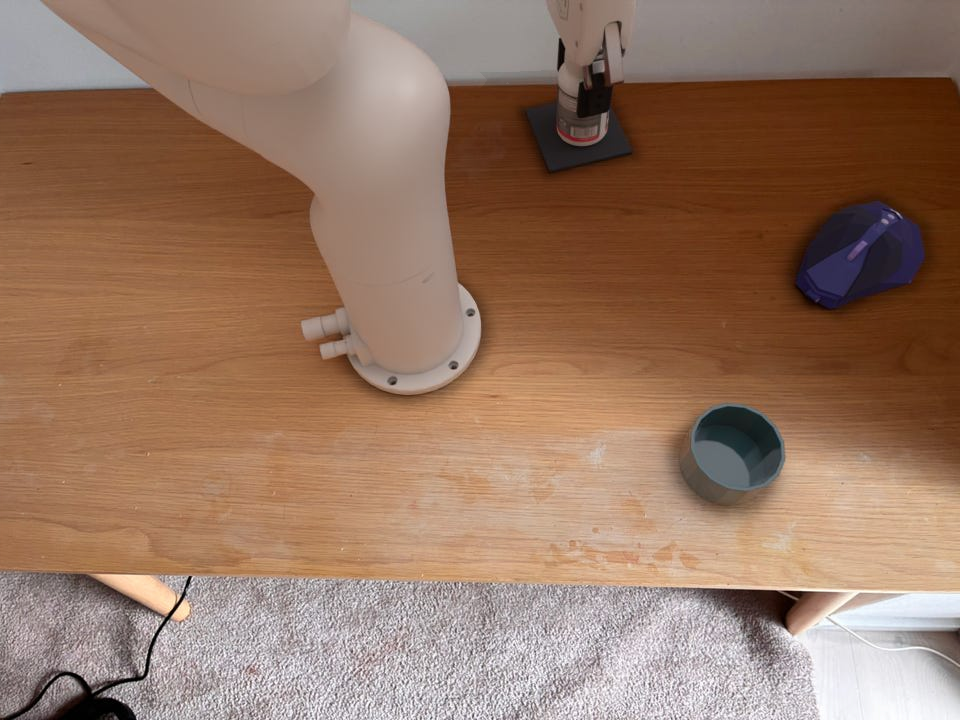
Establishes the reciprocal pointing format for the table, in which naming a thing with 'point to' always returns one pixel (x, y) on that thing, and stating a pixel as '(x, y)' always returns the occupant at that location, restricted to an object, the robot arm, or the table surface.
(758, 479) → the cup
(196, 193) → the table surface
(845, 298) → the computer mouse
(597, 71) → the pill bottle
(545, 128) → the mat
